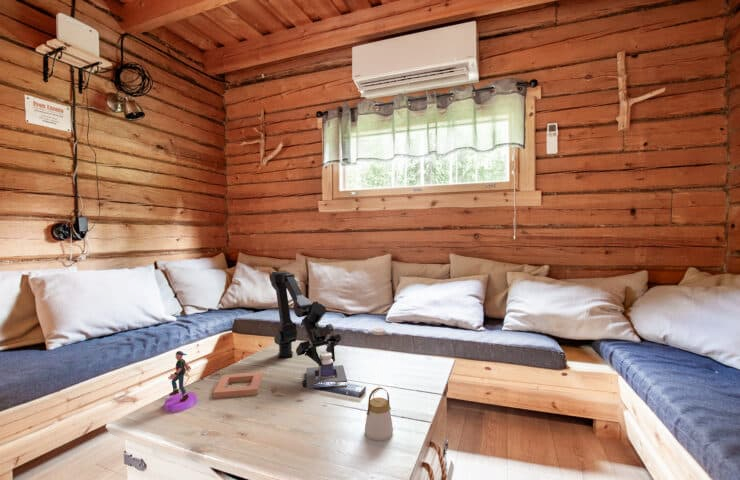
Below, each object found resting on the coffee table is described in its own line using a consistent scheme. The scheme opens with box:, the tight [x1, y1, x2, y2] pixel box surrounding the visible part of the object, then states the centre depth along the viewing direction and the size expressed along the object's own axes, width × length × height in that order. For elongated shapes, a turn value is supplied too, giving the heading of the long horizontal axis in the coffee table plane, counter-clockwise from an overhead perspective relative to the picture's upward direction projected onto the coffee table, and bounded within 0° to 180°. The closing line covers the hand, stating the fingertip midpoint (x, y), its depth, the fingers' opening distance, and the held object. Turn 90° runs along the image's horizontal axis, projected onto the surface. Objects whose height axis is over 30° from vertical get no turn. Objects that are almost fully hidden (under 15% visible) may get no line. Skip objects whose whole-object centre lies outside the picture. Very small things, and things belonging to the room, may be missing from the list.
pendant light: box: [364, 327, 394, 442], centre depth 101 cm, size 8×8×30 cm
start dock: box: [305, 364, 348, 390], centre depth 137 cm, size 15×15×2 cm
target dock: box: [212, 371, 264, 399], centre depth 131 cm, size 15×15×2 cm
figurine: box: [164, 350, 197, 413], centre depth 117 cm, size 9×9×18 cm
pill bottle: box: [318, 351, 334, 379], centre depth 137 cm, size 6×6×10 cm
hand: (327, 363), depth 136 cm, fingers closed on pill bottle, 6 cm apart
